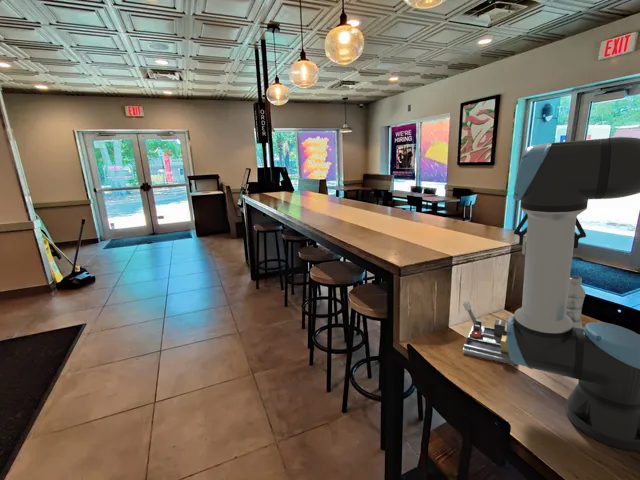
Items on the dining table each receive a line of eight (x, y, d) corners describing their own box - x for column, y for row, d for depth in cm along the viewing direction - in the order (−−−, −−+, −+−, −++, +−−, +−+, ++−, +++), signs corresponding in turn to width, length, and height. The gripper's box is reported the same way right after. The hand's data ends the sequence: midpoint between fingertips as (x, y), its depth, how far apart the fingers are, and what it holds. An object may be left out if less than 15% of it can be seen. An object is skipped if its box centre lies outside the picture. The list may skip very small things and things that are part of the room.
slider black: (503, 337, 108) (504, 325, 107) (493, 335, 109) (494, 323, 108) (504, 333, 111) (505, 320, 109) (495, 331, 112) (495, 319, 111)
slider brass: (511, 355, 98) (512, 342, 97) (500, 353, 100) (501, 339, 99) (512, 349, 101) (513, 336, 100) (501, 347, 103) (502, 334, 102)
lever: (479, 329, 112) (467, 303, 113) (475, 330, 113) (462, 304, 114) (480, 326, 114) (468, 300, 114) (476, 327, 115) (464, 301, 115)
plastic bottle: (559, 334, 110) (565, 280, 106) (556, 324, 116) (561, 273, 111) (583, 337, 107) (590, 282, 103) (578, 327, 113) (584, 275, 108)
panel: (516, 366, 96) (517, 353, 95) (462, 352, 105) (463, 340, 103) (520, 337, 110) (521, 326, 109) (473, 328, 119) (473, 317, 118)
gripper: (598, 192, 103) (591, 255, 107) (509, 194, 117) (506, 249, 122) (601, 195, 97) (593, 261, 102) (507, 196, 111) (504, 254, 116)
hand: (546, 255), depth 112 cm, fingers open, 13 cm apart
